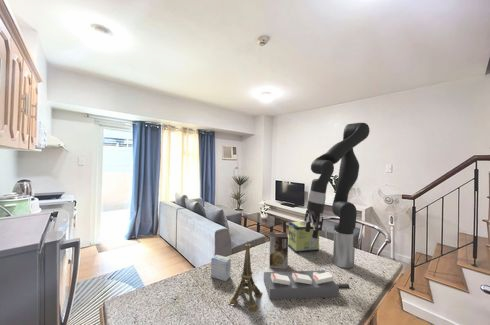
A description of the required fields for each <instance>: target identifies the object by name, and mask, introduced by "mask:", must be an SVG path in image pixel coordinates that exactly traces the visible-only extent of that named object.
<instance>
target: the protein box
mask: <svg viewBox="0 0 490 325" xmlns="http://www.w3.org/2000/svg"><path fill="white" fill-rule="evenodd" d="M310 225H311V227H310V232H306V231H305V227H306V221H304V220H303V221H289V222H288V248H290V249H291V250H292V251H293V252H294V253H295V254H304V253H317V252H319V251H320V250H319V249H320V231H319V232H318V237H317V239H315V238H313V237H312V235H313V230H314V228H313V225H312V223H311V224H310ZM315 227H316V226H315Z"/></svg>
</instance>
